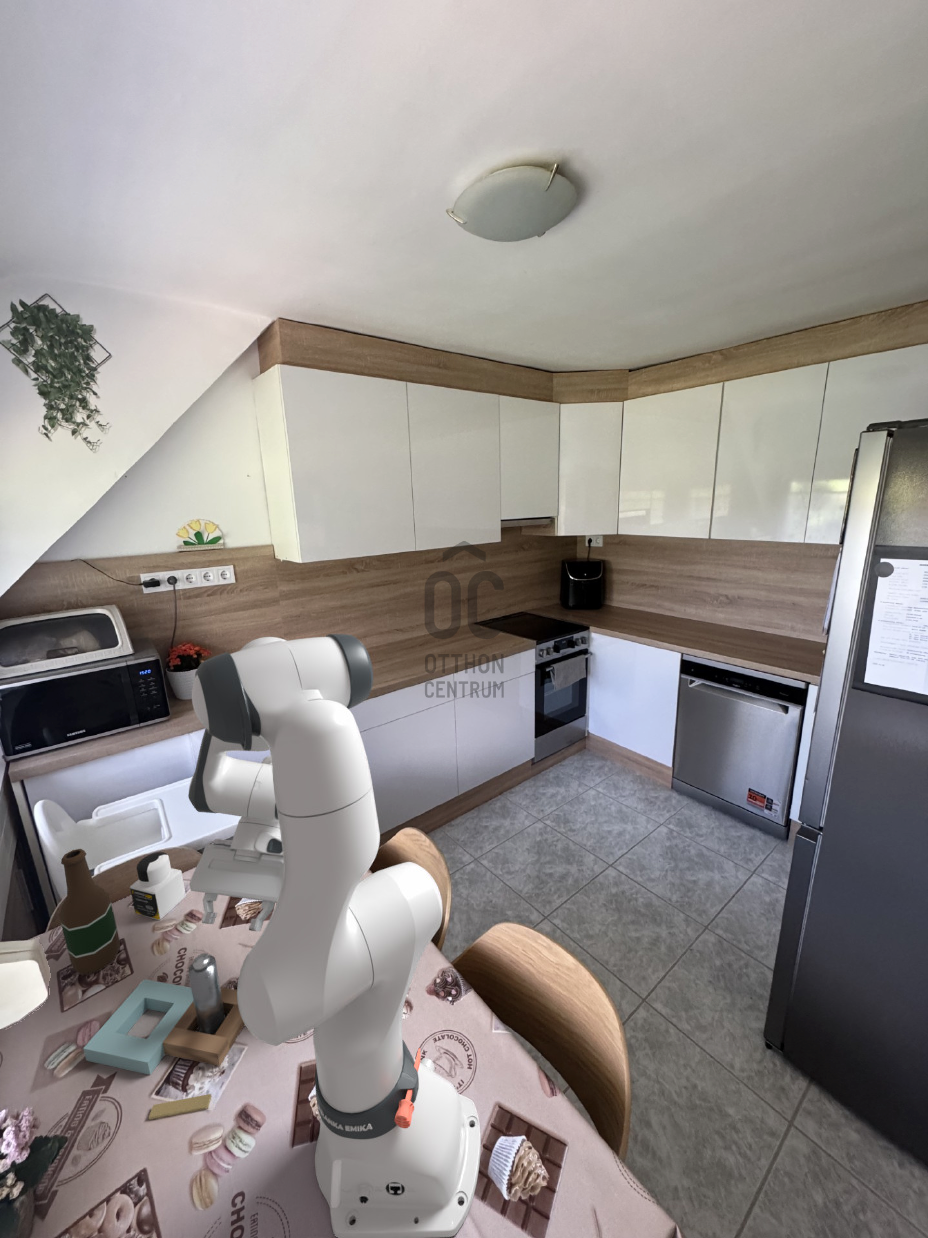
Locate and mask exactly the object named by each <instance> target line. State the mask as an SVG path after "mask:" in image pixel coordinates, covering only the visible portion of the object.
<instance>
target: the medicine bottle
mask: <svg viewBox="0 0 928 1238" xmlns="http://www.w3.org/2000/svg"><path fill="white" fill-rule="evenodd" d="M171 866H172V865H171V862H170V856H169V854H168V853H166V852H163V851H159V852H158V851H157V852H154V853H150V854H148V855H145V856H144V857H143V858H141V859H140V861H138V863H137V865H136V871H137V877H138V880H136V881H134V882H133V884H131V885H130V887H129V890H130V893H131V894H130V895H131V900H132V904H133V908H134V913H135V915H140V916H143V917H146V918H150V919H152V920H153V919H154V920H157V921H161V920H162V919H163V918H164V917H165V916H166V915H167V914H169V913H171V911H172V910H173V909H174V908H176V906H177V905H178V904H180V903H181V902H182V901H183V900H184V899H185V898H186V897H187V895H186V894H187V893H186V890H185V889H186V888H185V883H184V877H183V872H182V870H181V869H176V868H173V867H171Z"/></svg>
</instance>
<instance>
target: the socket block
mask: <svg viewBox="0 0 928 1238" xmlns="http://www.w3.org/2000/svg"><path fill="white" fill-rule="evenodd" d="M220 989H221V995H222V1001H223V1007H224V1012H225V1015H226V1016H225V1020H224V1021H223V1023H222V1024H221V1026H220V1028H219V1029H218V1031H217V1032H216V1034H215V1035H210V1034H205V1033H200V1032H199V1031H198V1030H199V1027H198V1022H197V1016H196V1011H195V1006H194V1001H193V1002H192V1003H191V1005H190V1006H189V1007H188V1009H187V1010H186V1011H185V1013H184V1014H183V1015H182V1017H181V1018H180V1020H179V1021H178V1022H177V1024H176V1025H175V1026H174V1028H173V1029H172V1030H171V1032H170V1033H169V1034H168V1036H167V1037H166V1038H165V1040H164V1041H163V1047H164V1051H165V1055H166V1056H172V1057H176V1058H180V1059H184V1060H189V1061H195V1062H200V1063H204V1064H208V1065H213V1066H217V1067H221V1065H222V1063H223V1062H224V1060H225V1059H226V1056H227V1055H228V1053H229V1052H230V1050H231V1049H232V1047H233V1045H234V1044H235V1042H236V1041H237V1039H238V1036H239V1035H240V1033H241V1032H242V1030H243V1028H244V1027H245V1026H246V1025H245V1024H244V1022H243V1020H242V1017H241V1015H240V1012H239V1007H238V1001H237V989H233V988H226V987H223V986H220Z"/></svg>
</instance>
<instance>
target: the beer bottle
mask: <svg viewBox="0 0 928 1238" xmlns="http://www.w3.org/2000/svg"><path fill="white" fill-rule="evenodd" d="M86 856H87V852H86V851H85V850H84V849H83V848H76V849H72V850H70V851H68V852H67V853H64V855H63V856H62V858H61V861H60V864H61V865H63V868H64V877H65V882H66V889H67V890H66V898H65V900H64V901H63V903H62V904H61V909H60V913H59V920H60V926H61V929H62V933H63V937H64V941H65V944H66V945H65V946H66V948H67V949H66V950H67V952H68V956H69V957H68V958H69V960H70V964H71V967H72V969H73V970H74V971H75V972H77V973H78V974H79V975H81V976H82V977H83V976H88V975H91V974H95V973H99V972H101V971H102V970H103V969H105V968H106V967H107V966H108V965H110V964H111V963H114V961H115V960H116V958H117V956H118V953H119V950H120V948H121V943H120V936H119V931H118V926H117V922H116V919H115V914H114V910H113V905H112V901H111V898H110V895H109V893H107V891H106V890H105V889H104V888H103V887H101V886H99V885H98V884H96V883H95V881H94V879H93V877H92V874H91V871H90V868H89V864H88V862H87V859H86Z"/></svg>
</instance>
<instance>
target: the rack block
mask: <svg viewBox="0 0 928 1238" xmlns="http://www.w3.org/2000/svg"><path fill="white" fill-rule="evenodd" d="M193 1001H194V1000H193V995H192V989H191V986H190V987H188V986H182V985H178V984H173V983H167V982H162V981H157V980H151V979H143V980H142V981H141V982H140V983H139V984H138V986H137V987H136V988H135V989H134V990H133V991H132V992H131V993H130V995H129V996H128V997H127V998H126V999H125V1000H124V1001H123V1002H122V1004H121V1005H120V1006H119V1007H118V1008H117V1010H115V1011H114V1012H113V1013H112V1015H111V1016H110V1017H109V1019H108V1020H107V1021H106V1022H105V1023H104V1024H103V1026H102V1027H101V1028H100V1029H99V1030H98V1031H97V1032H96V1033H95V1034H94V1035H93V1036H92V1037H91V1039H90V1040H89V1041H88V1043H86V1044H85V1046H84V1047H83V1053H84V1057H85V1060H86V1061H88V1062H92V1063H95V1064H100V1065H103V1066H104V1065H105V1066H110V1067H113V1068H117V1069H118V1068H119V1069H123V1070H127V1071H132V1072H135V1073H141V1074H144V1075H149V1076H150V1075H152V1073H153V1072H154V1070H155V1069H156V1068H157V1067H158V1065H159V1064H160V1062H161V1061H162V1059H163V1058H164V1056H165V1055H166V1054H165V1051H164V1047H163V1041H164V1040H165V1038H166V1037H167V1036H168V1034H169V1033H170V1032H171V1030H172V1029H173V1028H174V1026H175V1025H176V1024H177V1022H178V1021H179V1020H180V1018H181V1017H182V1015H183V1014H184V1013H185V1011H186V1010H187V1009H188V1007H189V1006H190V1005H191V1003H192V1002H193ZM147 1010H152V1011H157V1012H162V1013H166V1014H164V1016H163V1017H162V1018H161V1020H160V1021H159V1022H158V1023H157V1025H156V1026H155V1027H154V1029H152V1032H150V1033H149V1035H148V1037H147V1038H143V1037H139V1036H133V1035H129V1034H128V1033H129V1032H130V1031H131V1029H132V1028H133V1027H134V1026H135V1024H137V1022H138V1021H139V1019H140V1018H141V1017H142V1016H143V1015H144V1013H145V1012H147Z"/></svg>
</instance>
